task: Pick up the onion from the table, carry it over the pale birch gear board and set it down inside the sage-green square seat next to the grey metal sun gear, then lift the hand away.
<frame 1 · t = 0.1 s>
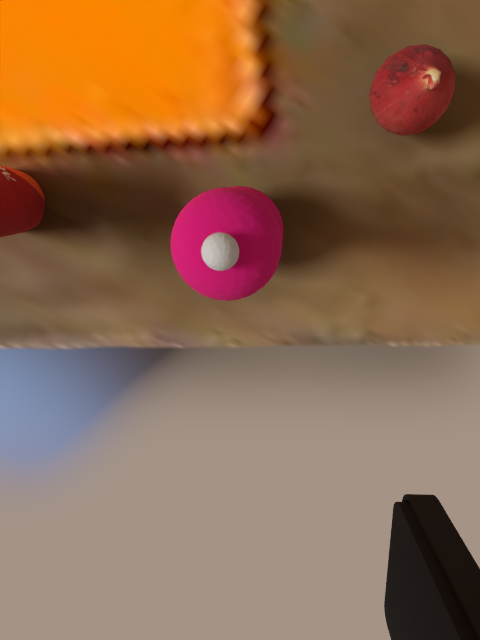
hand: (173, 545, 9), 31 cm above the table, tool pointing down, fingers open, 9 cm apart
onion: (394, 104, 34), on the table
paper cup: (17, 201, 38), on the table
pepper mill: (242, 229, 37), on the table
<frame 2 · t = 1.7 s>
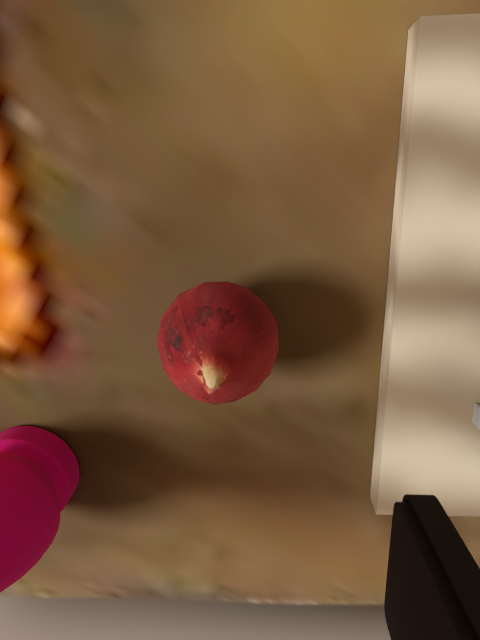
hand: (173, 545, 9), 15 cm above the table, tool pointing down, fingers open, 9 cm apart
onion: (225, 318, 24), on the table
pepper mill: (35, 464, 27), on the table
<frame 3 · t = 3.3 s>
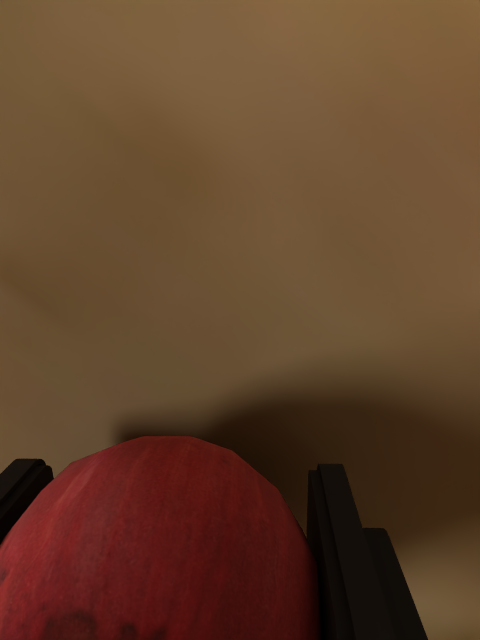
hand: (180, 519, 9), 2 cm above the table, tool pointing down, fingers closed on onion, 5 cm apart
onion: (193, 470, 11), on the table, touching gripper
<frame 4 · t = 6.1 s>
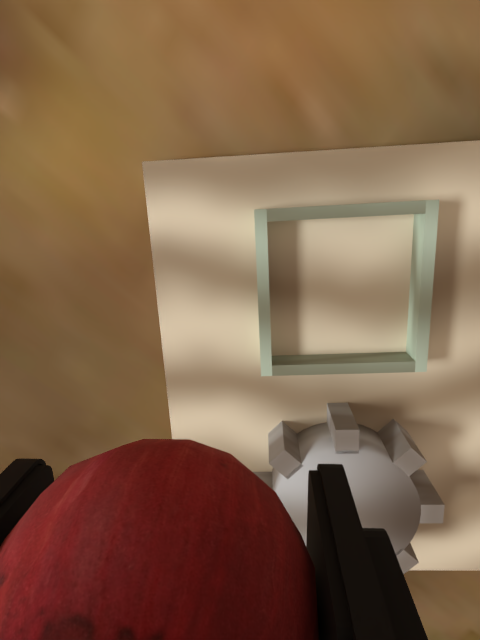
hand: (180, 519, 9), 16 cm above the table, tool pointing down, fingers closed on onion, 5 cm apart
gear board: (333, 379, 25), on the table
onion: (192, 473, 11), point 14 cm above the table, touching gripper
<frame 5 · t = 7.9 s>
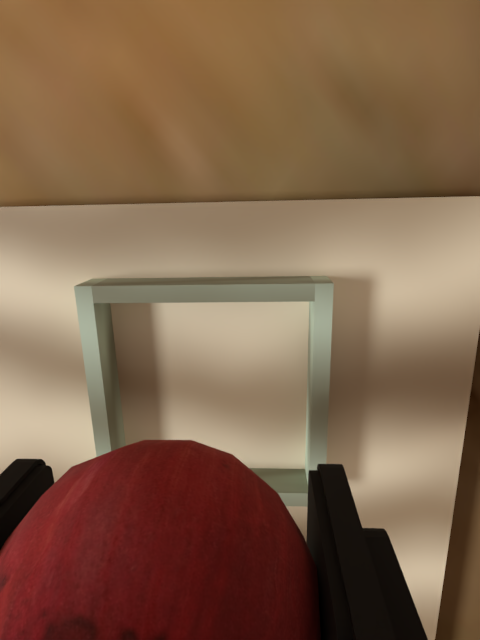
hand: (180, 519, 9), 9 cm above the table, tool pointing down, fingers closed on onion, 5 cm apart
gear board: (220, 489, 19), on the table
onion: (193, 473, 11), point 7 cm above the table, touching gripper
when the fingers open (4 cm above the table, at t = 9.1 s): onion drops 1 cm, resting on gear board.
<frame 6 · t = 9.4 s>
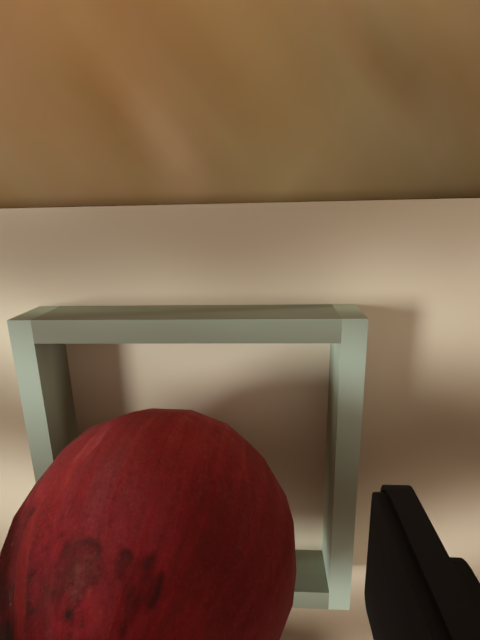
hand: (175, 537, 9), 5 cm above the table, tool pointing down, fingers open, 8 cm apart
gear board: (213, 563, 15), on the table
onion: (198, 442, 12), point 1 cm above the table, touching gear board
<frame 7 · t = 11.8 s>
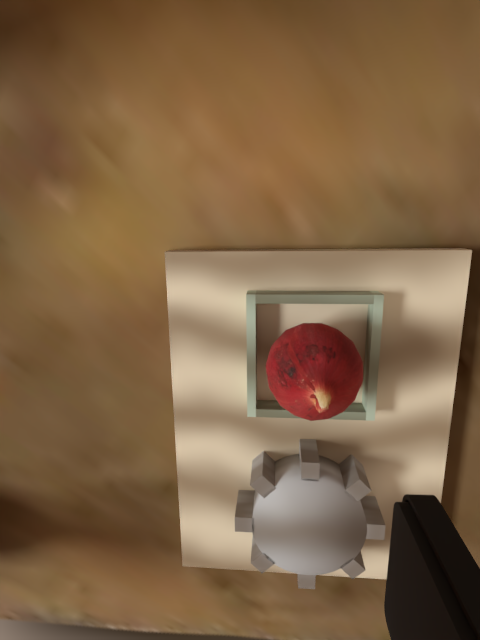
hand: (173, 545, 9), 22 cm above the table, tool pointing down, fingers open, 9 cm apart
gear board: (306, 419, 31), on the table
onion: (308, 350, 29), point 1 cm above the table, touching gear board
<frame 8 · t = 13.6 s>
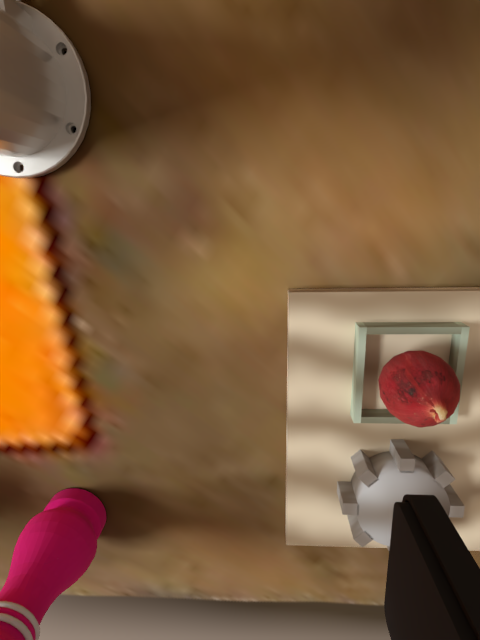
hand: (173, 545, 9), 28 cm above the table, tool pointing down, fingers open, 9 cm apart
gear board: (392, 423, 38), on the table
onion: (401, 368, 36), point 1 cm above the table, touching gear board
pepper mill: (79, 510, 43), on the table
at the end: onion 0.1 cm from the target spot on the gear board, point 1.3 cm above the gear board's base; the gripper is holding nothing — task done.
